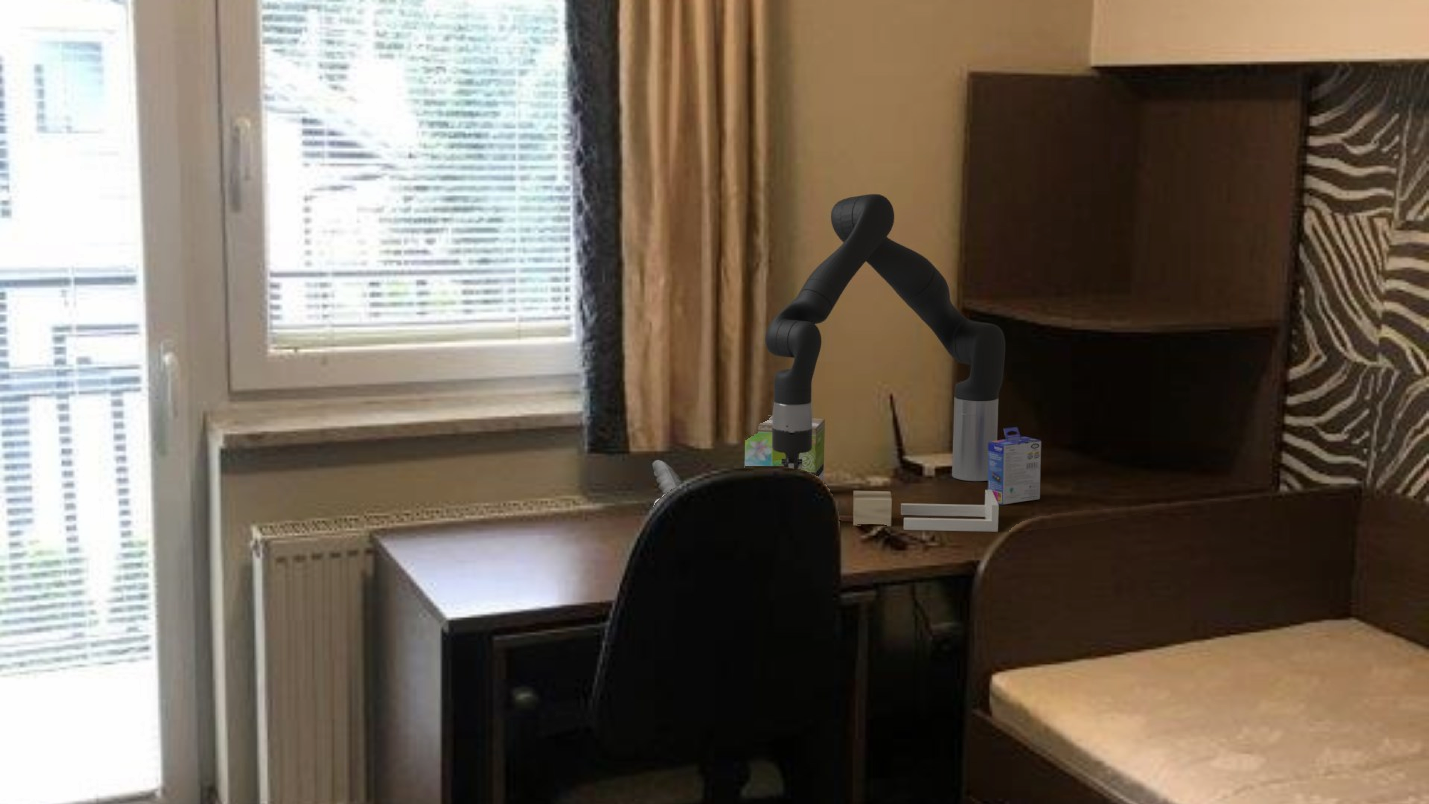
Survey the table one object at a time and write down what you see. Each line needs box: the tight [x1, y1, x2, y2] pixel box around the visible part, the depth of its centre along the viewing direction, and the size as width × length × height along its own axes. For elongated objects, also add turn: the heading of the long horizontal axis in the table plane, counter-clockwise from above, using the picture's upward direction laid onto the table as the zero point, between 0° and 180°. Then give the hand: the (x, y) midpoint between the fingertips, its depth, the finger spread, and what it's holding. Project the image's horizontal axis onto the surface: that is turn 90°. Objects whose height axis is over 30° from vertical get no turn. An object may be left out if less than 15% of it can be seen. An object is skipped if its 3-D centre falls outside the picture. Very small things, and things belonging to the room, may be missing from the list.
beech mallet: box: [839, 490, 893, 527], centre depth 292 cm, size 7×20×6 cm, turn 86°
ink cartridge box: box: [987, 426, 1042, 505], centre depth 308 cm, size 10×6×14 cm, turn 120°
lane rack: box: [900, 489, 1000, 533], centre depth 291 cm, size 12×17×5 cm
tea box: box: [744, 415, 826, 481], centre depth 316 cm, size 15×10×15 cm
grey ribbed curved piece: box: [651, 459, 684, 506], centre depth 295 cm, size 9×18×10 cm, turn 23°
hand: (791, 509), depth 293 cm, fingers open, 8 cm apart
